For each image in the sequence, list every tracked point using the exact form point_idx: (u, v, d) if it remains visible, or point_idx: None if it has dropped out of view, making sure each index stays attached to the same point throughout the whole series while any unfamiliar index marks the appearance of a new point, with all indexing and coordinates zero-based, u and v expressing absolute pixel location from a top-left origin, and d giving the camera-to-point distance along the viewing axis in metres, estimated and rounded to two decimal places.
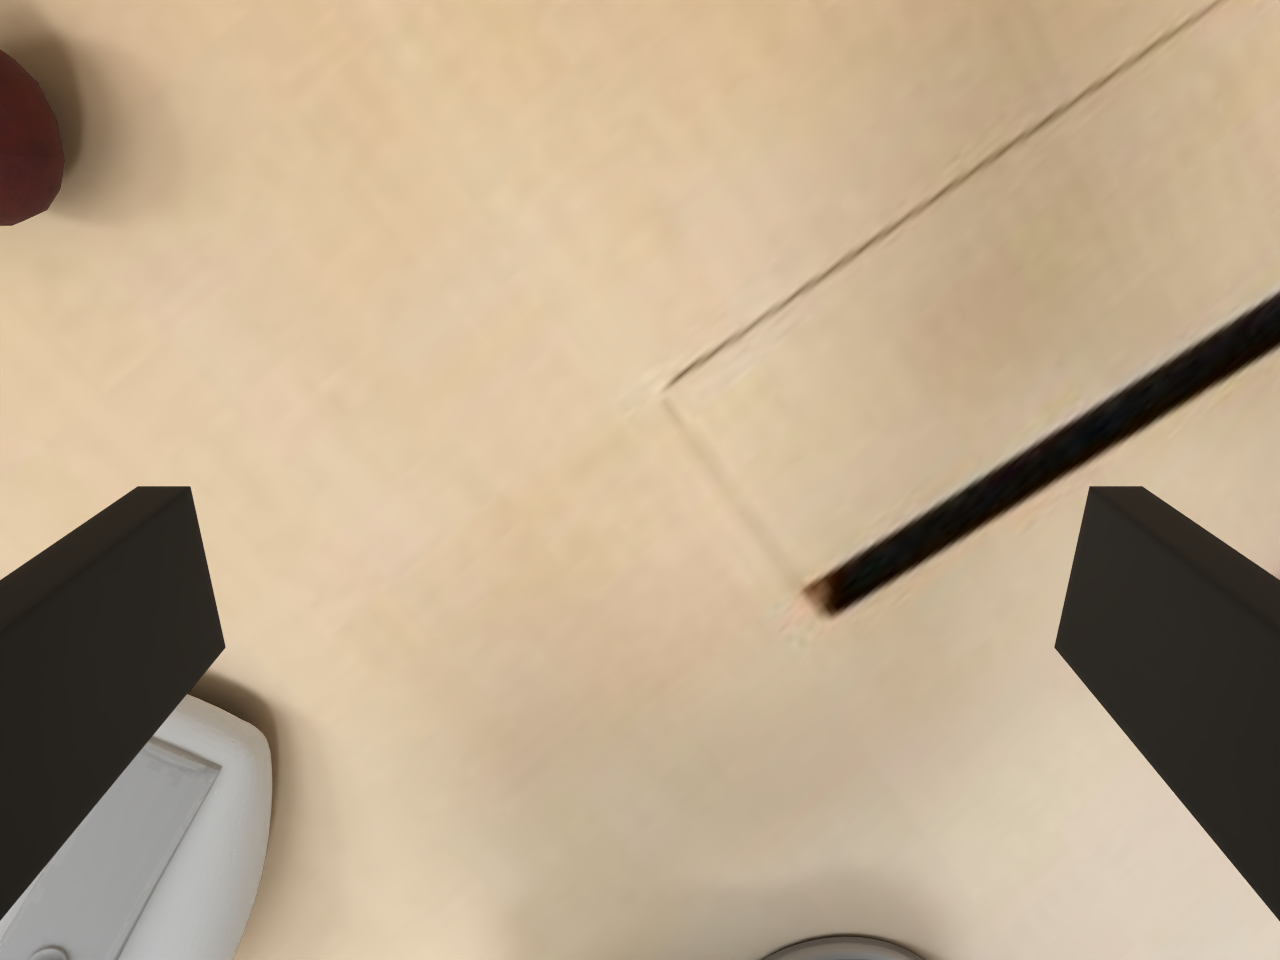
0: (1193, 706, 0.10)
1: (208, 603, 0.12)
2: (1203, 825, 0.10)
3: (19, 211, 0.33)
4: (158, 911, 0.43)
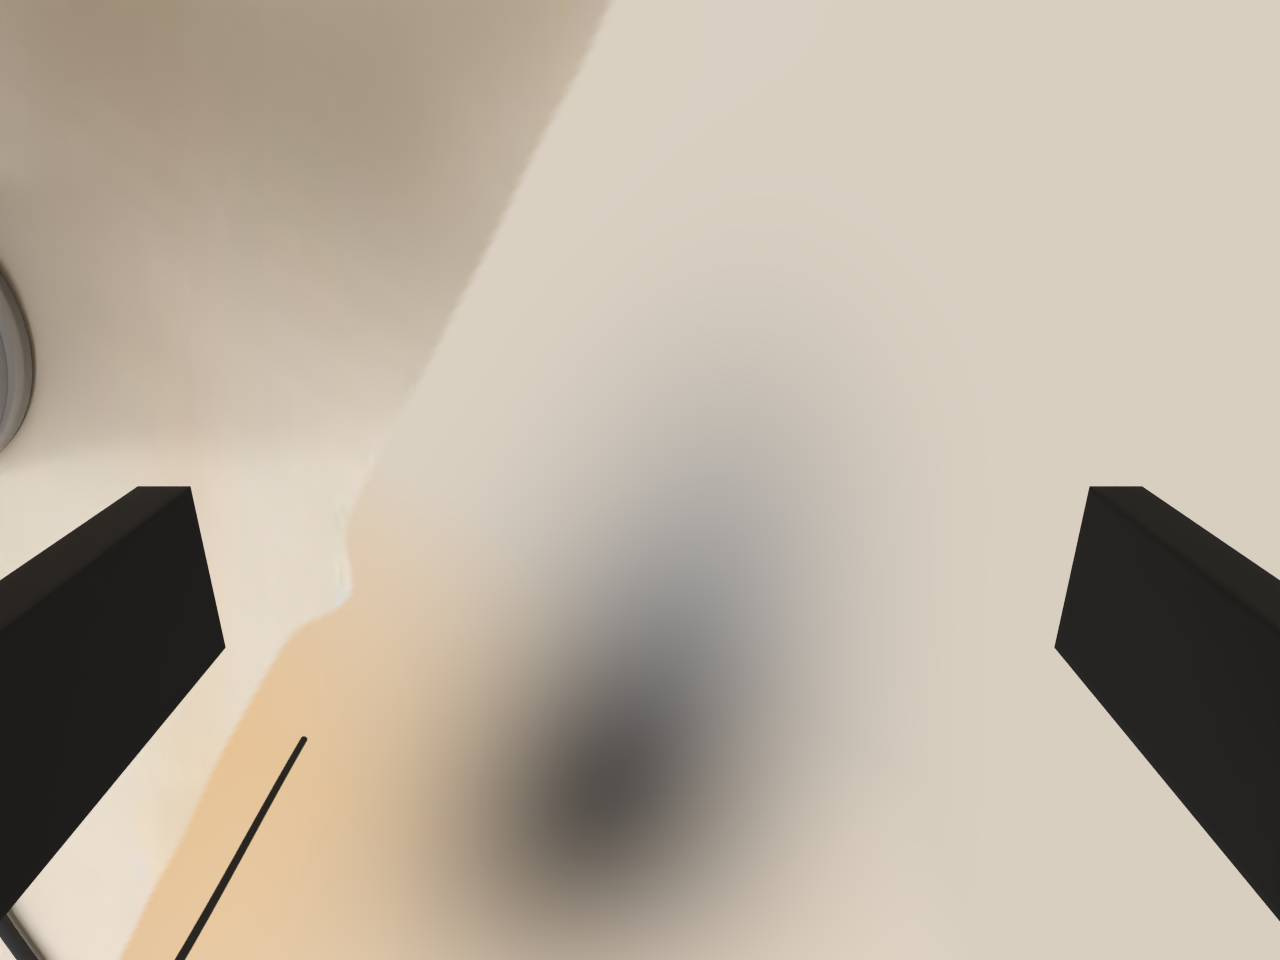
0: (1193, 706, 0.10)
1: (208, 603, 0.12)
2: (1203, 825, 0.10)
3: None
4: None
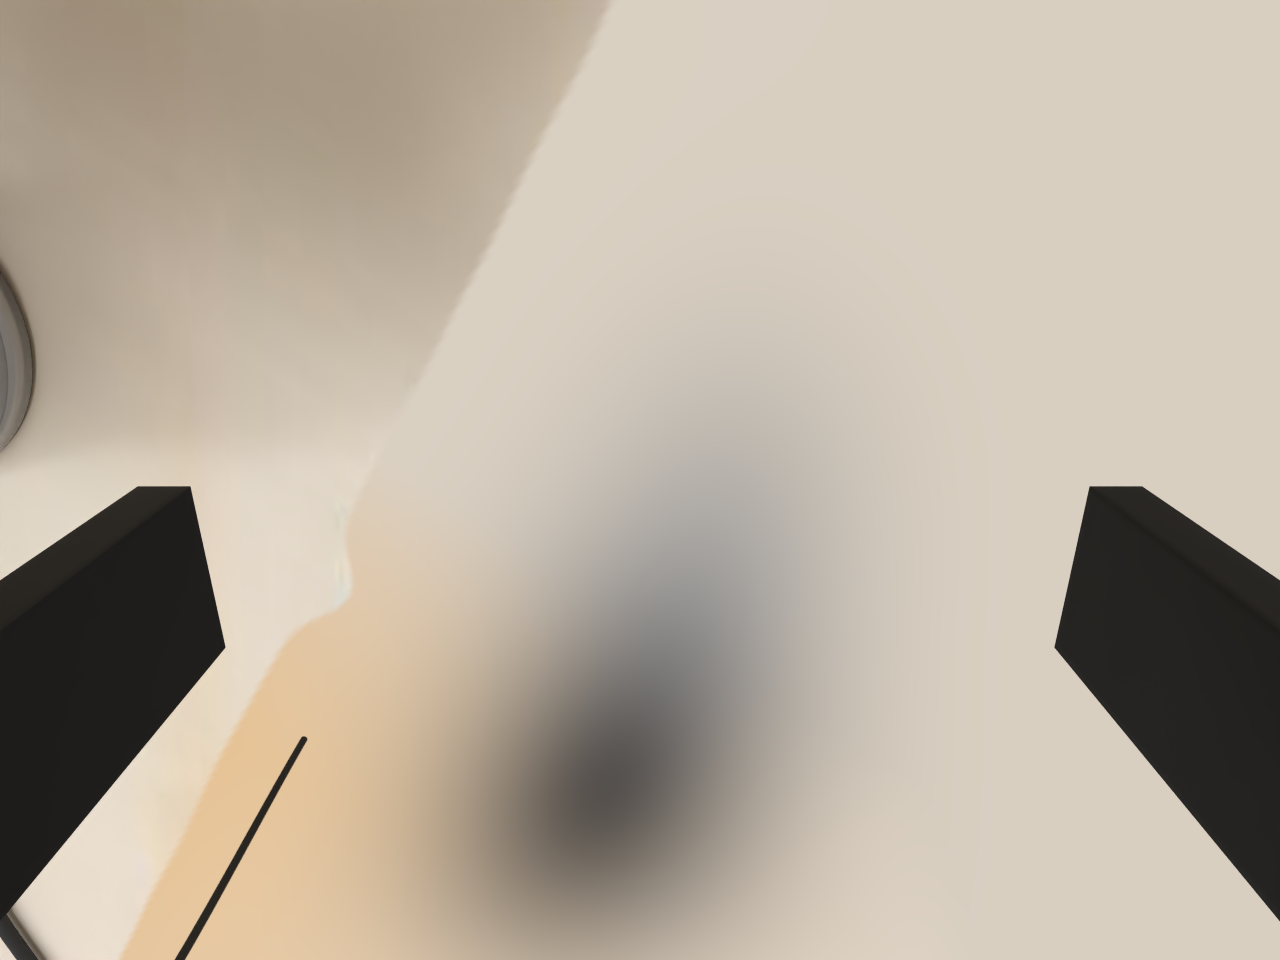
0: (1193, 706, 0.10)
1: (208, 603, 0.12)
2: (1203, 825, 0.10)
3: None
4: None
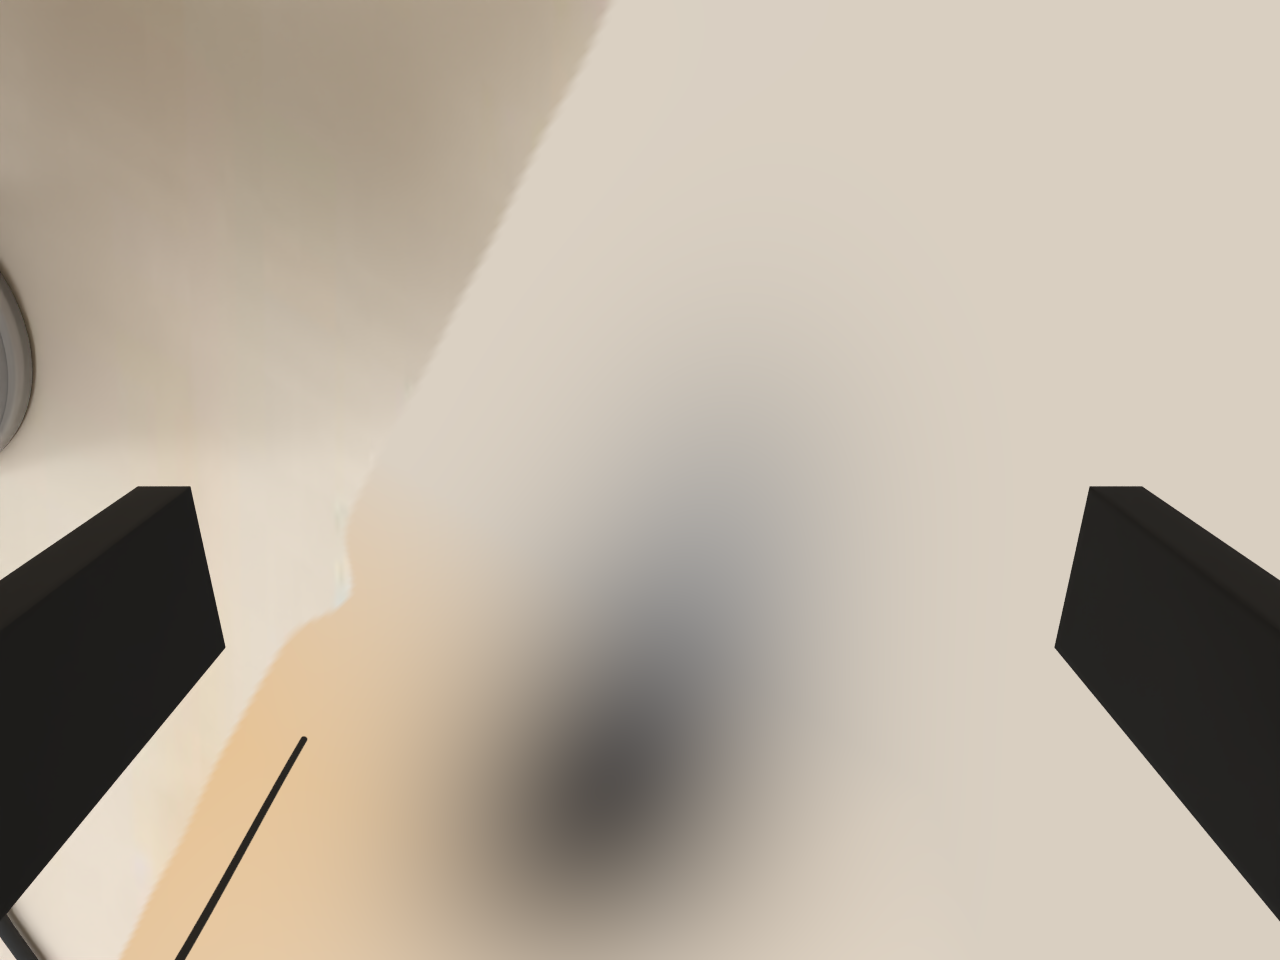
0: (1193, 706, 0.10)
1: (208, 603, 0.12)
2: (1203, 825, 0.10)
3: None
4: None
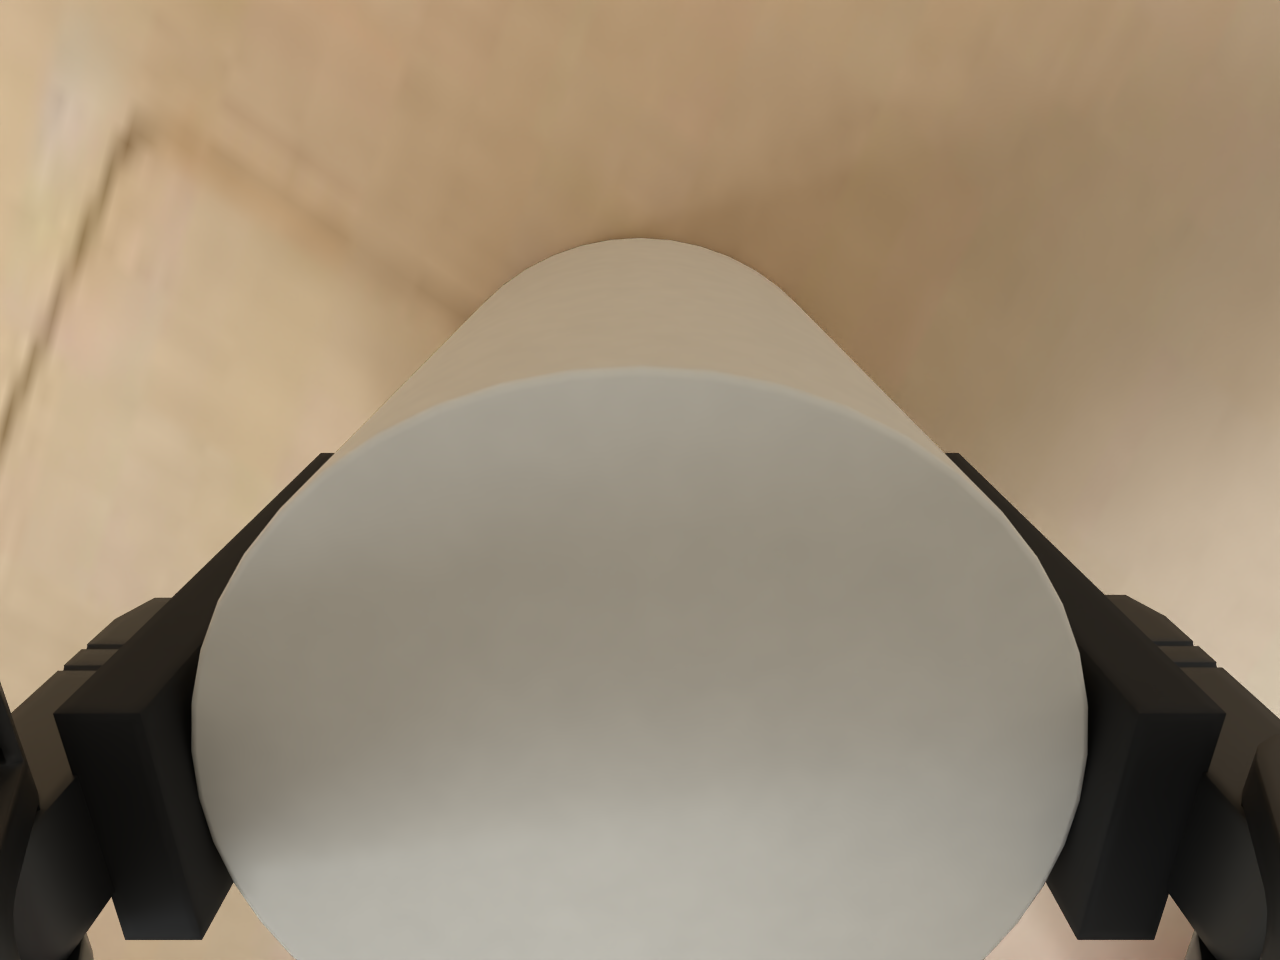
0: None
1: None
2: None
3: None
4: None
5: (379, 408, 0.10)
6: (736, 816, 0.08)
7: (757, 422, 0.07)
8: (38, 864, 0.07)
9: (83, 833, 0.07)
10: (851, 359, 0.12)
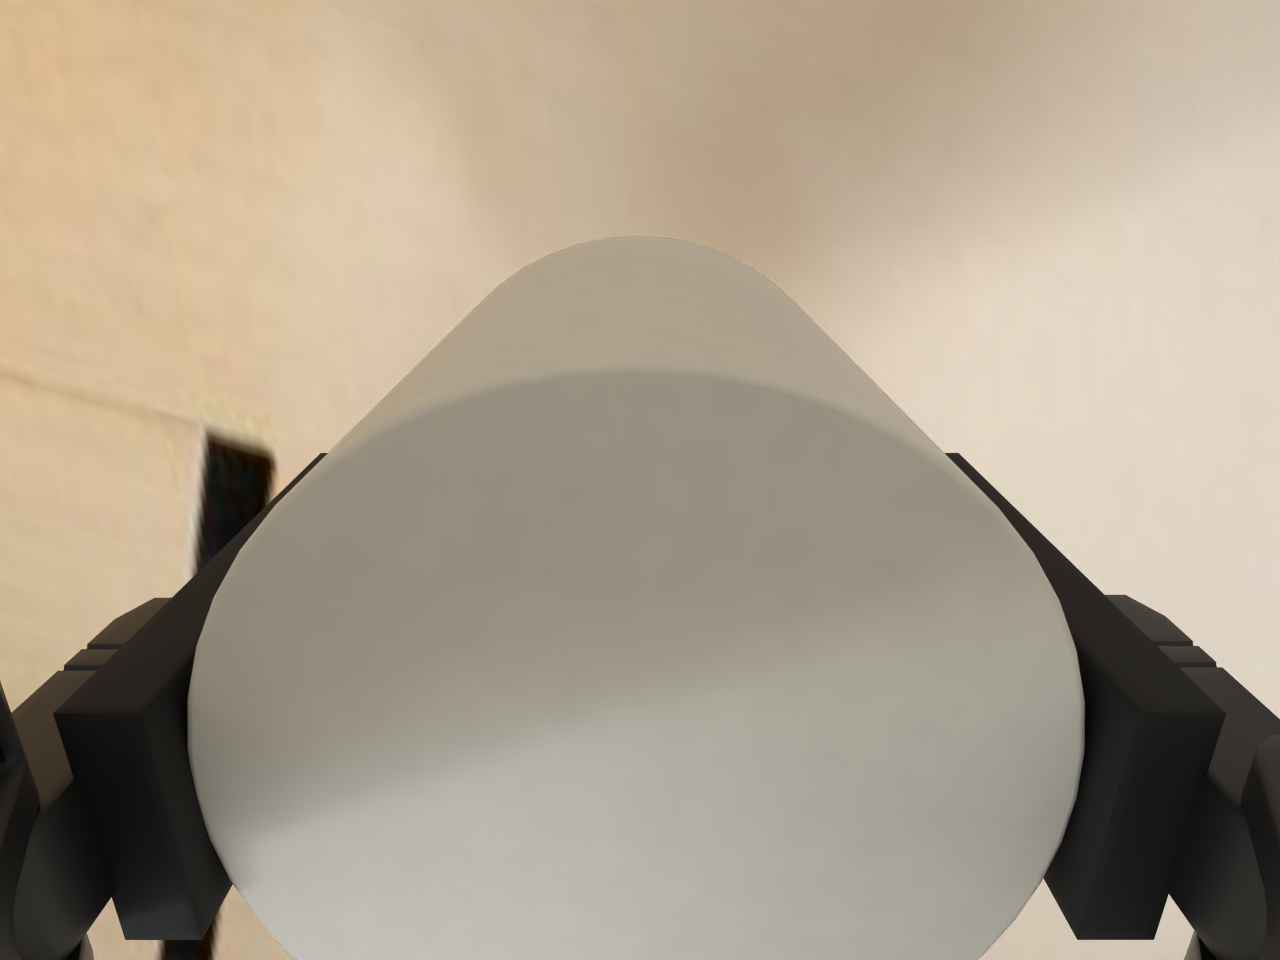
0: None
1: None
2: None
3: None
4: None
5: (376, 405, 0.09)
6: (733, 812, 0.08)
7: (752, 417, 0.07)
8: (39, 864, 0.07)
9: (82, 832, 0.07)
10: None
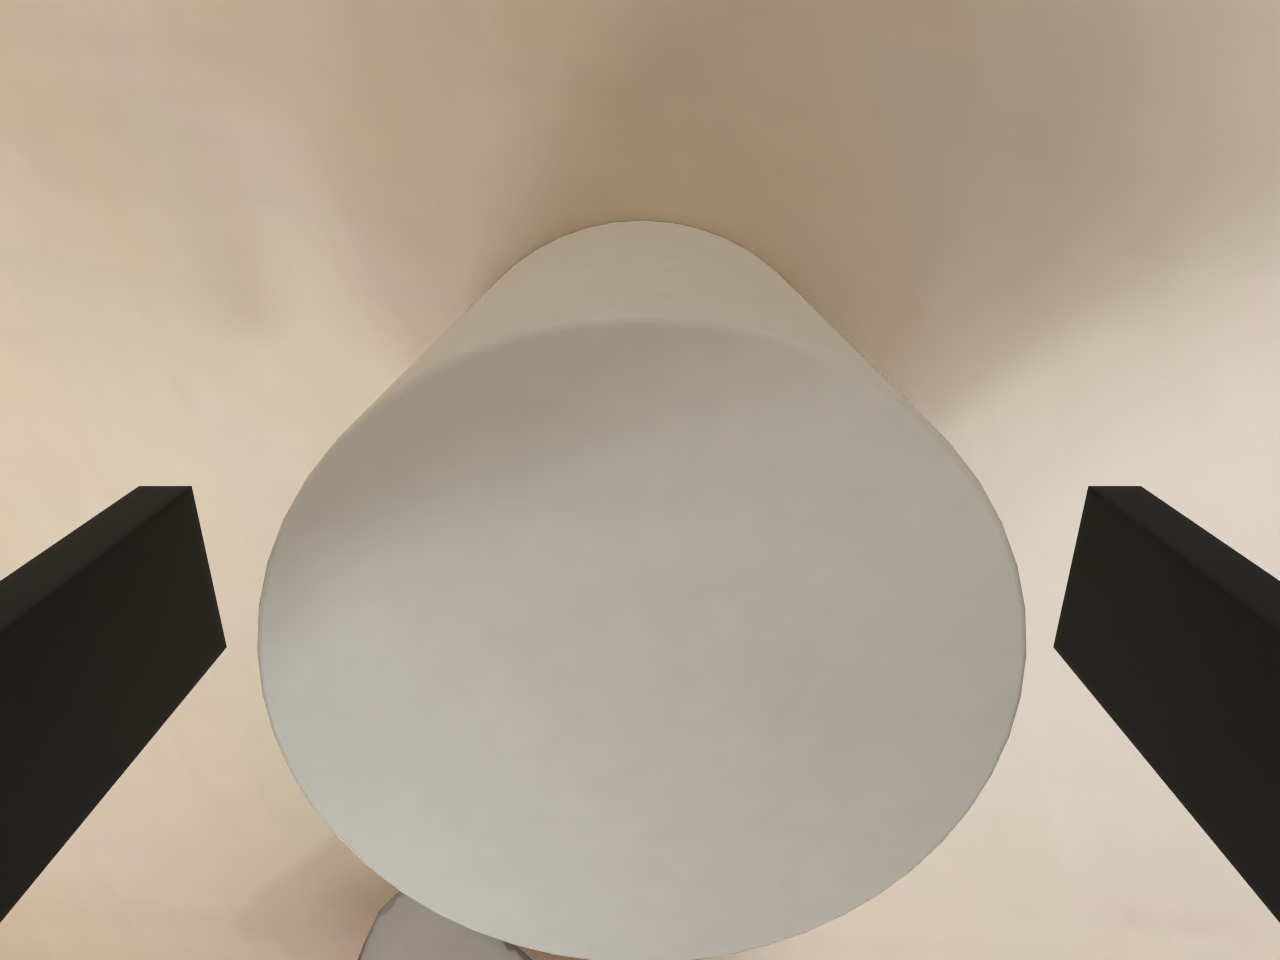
0: (1191, 706, 0.10)
1: (209, 603, 0.12)
2: (1201, 824, 0.10)
3: None
4: None
5: None
6: (724, 710, 0.09)
7: (740, 362, 0.08)
8: None
9: None
10: None
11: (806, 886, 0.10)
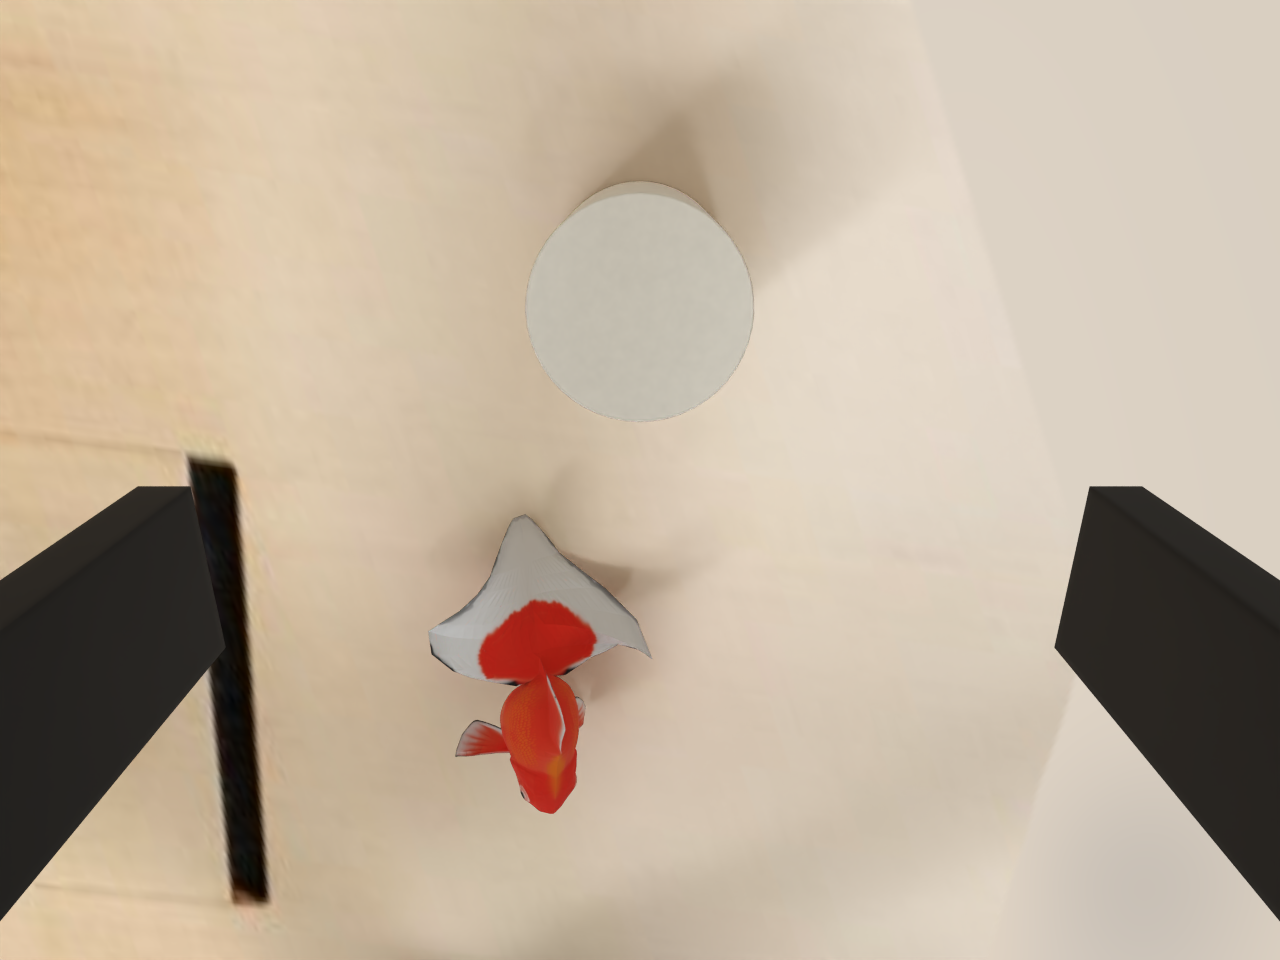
0: (1193, 706, 0.10)
1: (208, 603, 0.12)
2: (1203, 825, 0.10)
3: None
4: None
5: (564, 220, 0.33)
6: (664, 318, 0.31)
7: (666, 205, 0.30)
8: None
9: None
10: None
11: (693, 387, 0.32)
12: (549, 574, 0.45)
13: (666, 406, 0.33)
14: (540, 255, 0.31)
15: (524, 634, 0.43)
